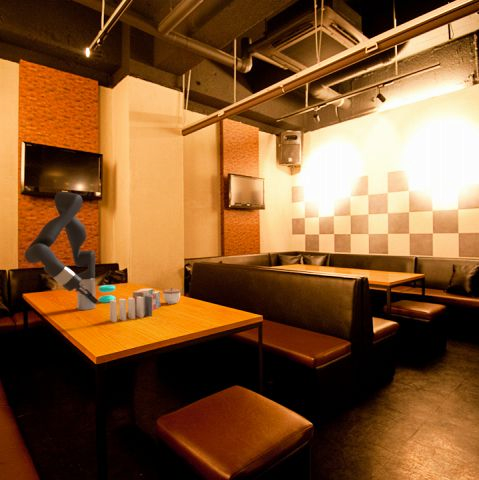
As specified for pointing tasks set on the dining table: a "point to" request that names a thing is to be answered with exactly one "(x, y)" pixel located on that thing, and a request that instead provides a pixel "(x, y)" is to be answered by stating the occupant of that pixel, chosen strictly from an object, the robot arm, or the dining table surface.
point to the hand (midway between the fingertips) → (96, 302)
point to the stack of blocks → (149, 292)
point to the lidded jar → (171, 295)
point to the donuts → (108, 297)
